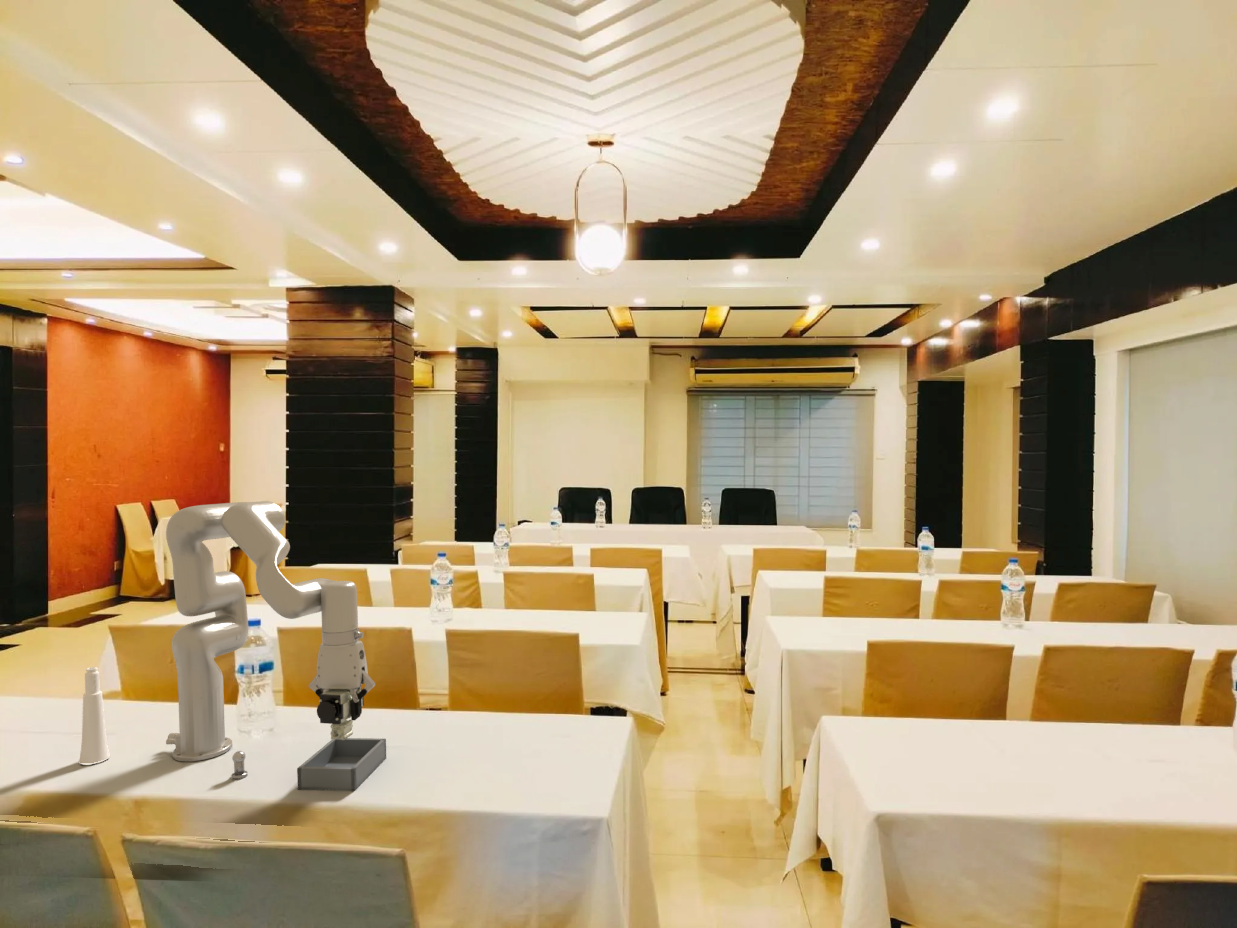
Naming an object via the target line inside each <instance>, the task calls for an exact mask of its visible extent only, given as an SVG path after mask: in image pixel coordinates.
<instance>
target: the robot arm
mask: <svg viewBox="0 0 1237 928" xmlns="http://www.w3.org/2000/svg"><path fill="white" fill-rule="evenodd" d="M285 523H286V515H285V512H284V511H283V509H282V507H281V506H279V505H278V504H277V503H275V502H273V501H269V500H262V501H261V500H260V501H247V502H242V501H241V502H239V501H238V502H225V503H224V502H223V503H211V504H200V505H199V504H198V505H193V506H192V505H191V506H188V507H184V508H182V509H179V510H177V511H176V512H175V513H173V515H171V516H170V518H169V519H168V522H167V524H166V525H167V526H166V530H165V538H166V543H167V547H168V550H169V553H170V556H171V563H172V575H173V585H174V595H175V596H174V598H175V606H176V609H177V610H178V613H179V614H181V615H182V616H184V617H197V616H203V615H207V614H212V613H214V615H215V616H213V617H209V618H205V619H202V620H198V621H193V622H190V623H187V624H185V625H184V626H181V627H179V628H178V629H177V630H176V632H175V633H174V634H173V636H172V638H171V649H172V651H171V652H172V655H173V659H174V662H175V667H176V673H177V692H178V693H177V694H178V695H177V696H178V720H179V721H178V722H179V723H178V728H179V730H178V731H179V733H178V732H169V734H168V735H167V738H166V740H165V744H166V745H175V749H173V751H172V759H173V760H175V761H179V762H199V761H203V760H208V759H209V760H210V759H212V758H215V757H218V756H221V755H222V754H225V753H226V752H227V753H228V751H229V750H231V749H232V747H233V740H232V739H231V738H229V737H226V734H225V733H226V731H225V730H226V729H225V697H224V691H225V690H224V676H223V675H224V674H223V672H222V669H221V668H220V667H219V665H218V664H217V662H216V660H215V658H217V657H219V656H222V655H225V654H229V653H232V652H234V651H235V652H236V651H237V650H239V649H241V648H242V647H243V646H244V645H245V644H246V642H247V640H248V637H249V636H248V635H249V619H248V607H247V606H248V605H247V604H248V603H247V596H246V588H245V585H244V582H243V581H242V579H241V578H240V577H239V576H238V575H237V574H236V573H235V572H232V571H229V570H227V571H225V570H224V571H218V572H215V569H214V558H213V555H212V552H211V551H210V549H209V548H208V547H207V545H206V544H205V543H204V541H210V540H218V539H225V538H230V539H231V540H232V541H233V542H234V543H235V544H236V545H237V546H238V547H239V548H240V550H241V551H242V552H243V553H244V554H245V555H246V556H247V557H248V559H249V560H251V562H252V563H253V564H254V565H255V581H256V586H257V590H258V592H259V594H260V596H261V598H262V599H263V600H264V601H265V602H266V603H267V604H268V605H269V606H270V607H271V609H272V610H273V611H274V612H275V613H276V614H278V615H280V616H281V617H282V618H285V619H289V620H294V619H295V620H296V619H299V618H302V617H306V616H308V615H313V614H316V613H320V612H321V641H322V643H321V644H319V647H318V656H317V661H316V675H315V676H314V678H313V679H312V680H311V681H310V682H309V684H308V688H309V689H310V690H312V691H313V692H314V693H315V695H317V697H318V698H320V695H321V694H322V693H324V692H326V691H329V690H350V693H351V696H352V698H353V702H352V703H351V718H350V720H352V721H356V720H357V719H359V718H360V717H361V715H362V711H363V708H362V707H363V706H362V702H361V699H362V698H363V697H364V698H365V696H366V695H367V694H368V693H369V692H370V691H371V690H372V689H373V688H374V687H375V686H376V682H375V681H374V680H373V679H372V678H371V676H370V675H369V673H368V671H369V670H368V663H367V657H366V652H365V651H366V650H365V647H364V643H363V641H362V640H360V639H364V636H365V633H364V631H360V628H359V617H358V591H357V590H358V588H357V584H356V583H355V582H354V581H351V580H333V579H330V578H323V577H320V578H313V579H309V580H303V581H300V582H295V583H291V582H290V581H289V580H288V579H287V578H286V577H285V576H284V575H283V573H282V572H281V571H280V570H279V567H278V565H279V564H280V563H282V561H283V560H284V559H285V558H286V557H287V556H288V554H289V552H290V549H291V545H290V542H289V541H288V540H287V539H286V537H285V536H283V534H282V533H281V531H282V530H283V528H284V527H285ZM360 684H361V686H360ZM363 684H364V685H365V686H364V688H362V685H363ZM361 688H362V689H361Z"/></svg>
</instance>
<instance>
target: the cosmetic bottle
mask: <svg viewBox="0 0 1237 928" xmlns="http://www.w3.org/2000/svg"><path fill="white" fill-rule="evenodd" d="M98 669H99V668H98V667H96V666H94V667H93V666H92V667H88V668H86V669H85V671H86V672H85V673H84V692H85V693H83V694H82V695H83V696H82V719H81V720H82V721H81V723H82V726H81V727H82V728H81V729H82V730H81V743H80V744H81V747H80V753H79V755H80V756H79V759H78V760H79V761H78V763H79V762H80V763H94V762H98V761H101V760H104V759H106V758H107V757H109V756H110V757H111V754H110V751H109V746H108V745H109V744H108V738H107V733H106V732H107V731H106V721H105V711H104V708H105V707H104V698H103V692H102V690H101V688H100V671H98Z"/></svg>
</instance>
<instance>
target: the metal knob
mask: <svg viewBox="0 0 1237 928" xmlns="http://www.w3.org/2000/svg"><path fill="white" fill-rule="evenodd" d="M245 760H246V753H245V752H244V751H243V750H239V751H238V750H237V751H235V753H233V755H232V761H233V769H234V772H233V773H232V774H231V775H230V776H231V777H230V778H231V779H232V780H234V781H236V780H242V779H244V778H246V777H248V773H249V772H248V771H247V770H245Z"/></svg>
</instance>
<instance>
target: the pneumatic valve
mask: <svg viewBox="0 0 1237 928" xmlns="http://www.w3.org/2000/svg"><path fill="white" fill-rule="evenodd" d="M360 686H361V689H363V688H362V684H360ZM318 702H319V704H318V705H317V707H316V715H317V717H318V718H319V723H320V724H329V725H330V729H331V731H330V740H334V739H341V740H345V739H346V738H350V736H352V735H353V734H354V731H353V725H354V724H353V722H354V720H351V703H352V702H353V698H352V696H351V693H350V690H329V691H326V692H324V693H322V694H321V695H320V697H319V700H318ZM361 702H362V707H363V706H365V696H364V697H363V698H362V699H361ZM348 719H349V720H348Z"/></svg>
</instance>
